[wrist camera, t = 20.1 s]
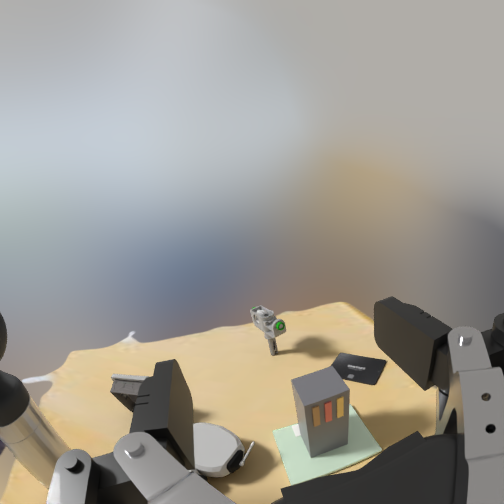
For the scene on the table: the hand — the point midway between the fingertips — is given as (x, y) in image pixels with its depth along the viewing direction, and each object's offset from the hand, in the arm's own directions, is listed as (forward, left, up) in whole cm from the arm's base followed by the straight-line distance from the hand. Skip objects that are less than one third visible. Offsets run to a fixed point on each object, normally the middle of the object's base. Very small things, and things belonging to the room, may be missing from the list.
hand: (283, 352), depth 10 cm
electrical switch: (-22, +32, -30) cm, 49 cm away
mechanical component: (+5, +42, -30) cm, 52 cm away
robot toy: (-12, +16, -30) cm, 36 cm away
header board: (+6, +15, -30) cm, 34 cm away
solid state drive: (+18, +29, -31) cm, 46 cm away
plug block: (+6, +16, -29) cm, 34 cm away
